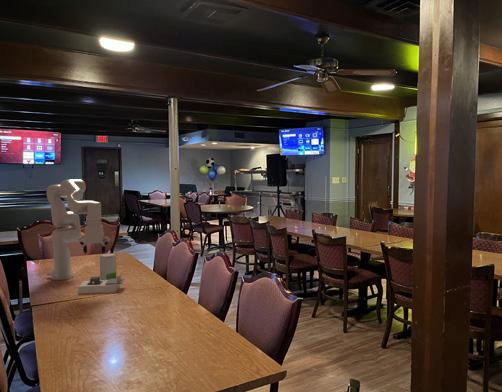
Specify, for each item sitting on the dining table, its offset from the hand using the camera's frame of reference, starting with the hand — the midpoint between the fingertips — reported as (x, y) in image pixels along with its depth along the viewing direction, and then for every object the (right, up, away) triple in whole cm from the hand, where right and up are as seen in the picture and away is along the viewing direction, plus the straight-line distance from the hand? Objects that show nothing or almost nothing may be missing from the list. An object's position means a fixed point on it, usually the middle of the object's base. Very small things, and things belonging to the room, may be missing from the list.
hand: (94, 252), depth 221 cm
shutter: (+11, -17, +2) cm, 21 cm away
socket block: (+3, -21, +1) cm, 21 cm away
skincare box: (-1, -20, +23) cm, 31 cm away
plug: (0, -21, +1) cm, 21 cm away
